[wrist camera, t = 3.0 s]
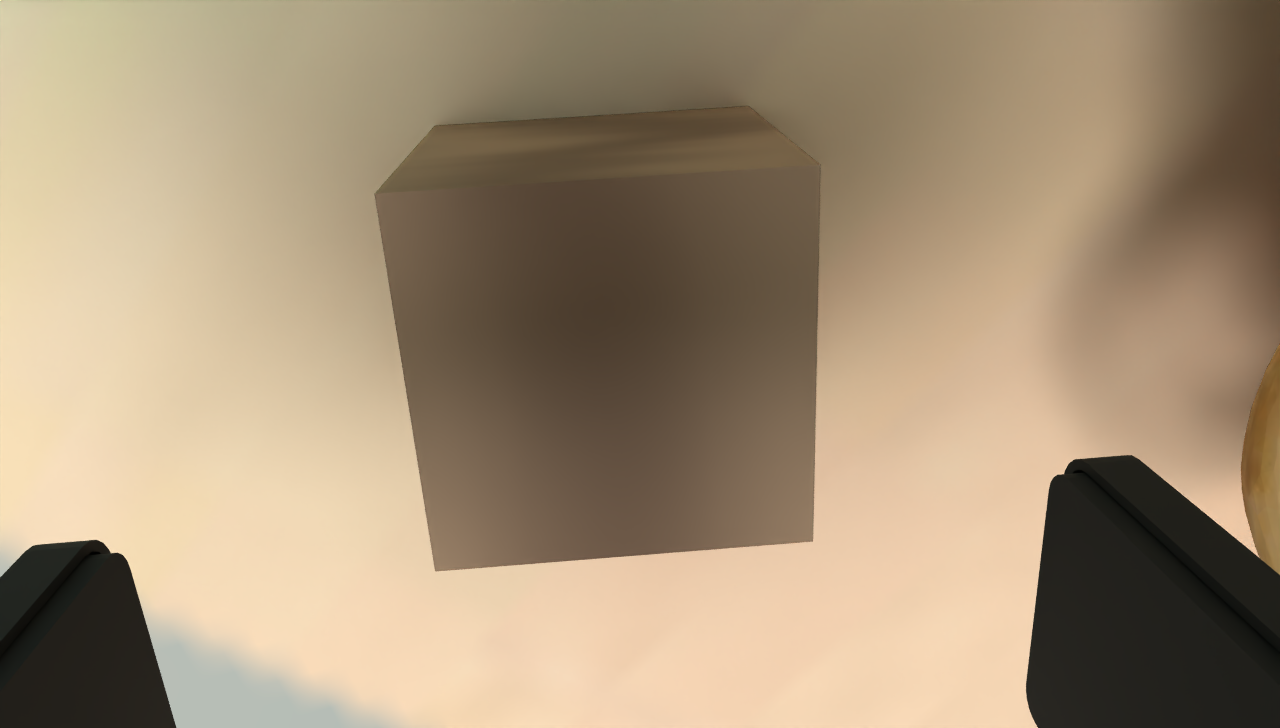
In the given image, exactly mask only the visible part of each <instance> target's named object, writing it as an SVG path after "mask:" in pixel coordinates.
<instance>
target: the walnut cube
mask: <svg viewBox="0 0 1280 728" xmlns="http://www.w3.org/2000/svg"><path fill="white" fill-rule="evenodd" d="M820 166H821V165H820V164H819V163H818V162H816V161H815V160H814V159H813V158H812V157H810V156H809V155H808V154H807V153H805V152H804V151H803V150H802V149H801V148H799V147H798V146H797V145H796V144H794V143H793V142H792V141H791V140H789V139H788V138H787V137H786V136H785V135H783V134H782V133H781V132H780V131H778V130H777V129H776V128H775V127H773V126H772V125H771V124H770V123H769V122H767V121H766V120H765V119H764V118H762V117H761V116H760V115H759V114H758V113H756V112H755V111H754V110H753V109H751V108H750V107H749V106H741V107H725V108H709V109H694V110H678V111H662V112H646V113H630V114H614V115H598V116H582V117H566V118H550V119H534V120H518V121H503V122H487V123H471V124H455V125H439V126H434V127H433V128H432V130H431V131H430V132H429V133H428V134H427V135H426V136H425V137H424V139H423V140H422V141H421V142H420V143H419V144H418V145H417V147H416V148H415V149H414V150H413V151H412V152H411V153H410V154H409V156H408V157H407V158H406V159H405V160H404V161H403V162H402V163H401V165H400V166H399V167H398V168H397V169H396V170H395V171H394V173H393V174H392V175H391V176H390V177H389V178H388V179H387V180H386V182H385V183H384V184H383V185H382V186H381V187H380V188H379V189H378V191H377V192H376V193H375V199H376V206H377V212H378V218H379V224H380V230H381V237H382V243H383V249H384V255H385V262H386V268H387V274H388V280H389V286H390V293H391V299H392V305H393V311H394V318H395V324H396V330H397V336H398V342H399V349H400V355H401V361H402V367H403V374H404V380H405V386H406V392H407V399H408V405H409V411H410V417H411V423H412V430H413V436H414V442H415V448H416V455H417V461H418V467H419V473H420V479H421V486H422V492H423V498H424V504H425V511H426V517H427V523H428V529H429V535H430V542H431V548H432V554H433V560H434V567H435V571H446V570H459V569H472V568H484V567H497V566H509V565H522V564H535V563H547V562H560V561H572V560H585V559H597V558H610V557H623V556H635V555H648V554H660V553H673V552H685V551H698V550H711V549H723V548H736V547H748V546H761V545H774V544H786V543H799V542H811V541H813V519H814V469H815V418H816V368H817V317H818V267H819V216H820Z"/></svg>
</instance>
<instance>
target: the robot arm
mask: <svg viewBox="0 0 1280 728" xmlns="http://www.w3.org/2000/svg"><path fill="white" fill-rule="evenodd" d="M1026 694H1027V701H1028V705H1029V709H1030V712H1031V715H1032V717H1033V719H1034V721H1035V723H1036V725H1037V727H1038V728H1280V575H1279V574H1278V573H1277V572H1276V571H1275V570H1273V569H1272V568H1271V567H1270V566H1268V565H1267V564H1266V563H1265V562H1264V561H1262V560H1261V559H1260V558H1259V557H1257V556H1256V555H1255V554H1254V553H1253V552H1251V551H1250V550H1249V549H1248V548H1246V547H1245V546H1244V545H1243V544H1242V543H1240V542H1239V541H1238V540H1237V539H1235V538H1234V537H1233V536H1232V535H1231V534H1229V533H1228V532H1227V531H1226V530H1225V529H1223V528H1222V527H1221V526H1220V525H1218V524H1217V523H1216V522H1215V521H1214V520H1212V519H1211V518H1210V517H1209V516H1207V515H1206V514H1205V513H1204V512H1203V511H1201V510H1200V509H1199V508H1198V507H1196V506H1195V505H1194V504H1193V503H1192V502H1190V501H1189V500H1188V499H1187V498H1185V497H1184V496H1183V495H1182V494H1181V493H1179V492H1178V491H1177V490H1176V489H1174V488H1173V487H1172V486H1171V485H1170V484H1168V483H1167V482H1166V481H1165V480H1163V479H1162V478H1161V477H1160V476H1159V475H1157V474H1156V473H1155V472H1154V471H1152V470H1151V469H1150V468H1149V467H1148V466H1146V465H1145V464H1144V463H1143V462H1142V461H1140V460H1139V459H1137V458H1135V457H1134V456H1132V455H1124V456H1112V457H1099V458H1087V459H1075V460H1073V461H1072V462H1070V463H1069V465H1068V466H1067V468H1066V470H1065V473H1064V474H1062V475H1057V476H1055V477H1054V478H1053V480H1052V481H1051V483H1050V488H1049V494H1048V502H1047V511H1046V519H1045V528H1044V536H1043V545H1042V553H1041V562H1040V570H1039V579H1038V587H1037V596H1036V604H1035V613H1034V622H1033V630H1032V639H1031V647H1030V656H1029V664H1028V673H1027V681H1026ZM0 728H176V725H175V722H174V719H173V715H172V711H171V708H170V704H169V701H168V698H167V694H166V691H165V687H164V684H163V680H162V677H161V673H160V670H159V667H158V663H157V660H156V656H155V653H154V649H153V646H152V642H151V639H150V635H149V632H148V628H147V625H146V622H145V618H144V615H143V611H142V608H141V604H140V601H139V597H138V594H137V591H136V587H135V584H134V580H133V577H132V573H131V570H130V567H129V564H128V562H127V560H126V559H125V557H124V556H123V555H121V554H119V553H110V551H109V549H108V548H107V547H106V546H105V544H104V543H102V542H100V541H98V540H89V541H77V542H65V543H53V544H41V545H34V546H32V547H31V548H29V549H28V550H27V551H25V552H24V553H23V554H22V555H21V557H20V558H19V559H18V560H17V561H16V562H15V563H14V564H13V565H12V566H11V567H10V568H9V569H8V570H7V571H6V572H5V573H4V574H3V575H2V576H1V577H0Z"/></svg>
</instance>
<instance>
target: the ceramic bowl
mask: <svg viewBox="0 0 1280 728" xmlns="http://www.w3.org/2000/svg"><path fill="white" fill-rule="evenodd" d="M1241 480H1242V493H1243V500H1244V506H1245V512H1246V516H1247V519H1248V523H1249V526H1250V530H1251V533H1252V537H1253V540H1254V544H1255V547H1256V549H1257V552H1258V555H1259V557H1260V559H1261V560H1262V561H1264V562H1265V563H1266V564H1267V565H1268V566H1270V567H1271V568H1272V569H1273V570H1275V571H1276V572H1277V573H1278V574H1279V575H1280V344H1279V346H1278V348H1277V350H1276V352H1275V354H1274V355H1273V357H1272V359H1271V361H1270V363H1269V365H1268V367H1267V369H1266V371H1265V374H1264V376H1263V379H1262V382H1261V384H1260V387H1259V389H1258V392H1257V395H1256V397H1255V400H1254V402H1253V405H1252V408H1251V412H1250V416H1249V421H1248V425H1247V430H1246V434H1245V439H1244V444H1243V453H1242V462H1241Z"/></svg>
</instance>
